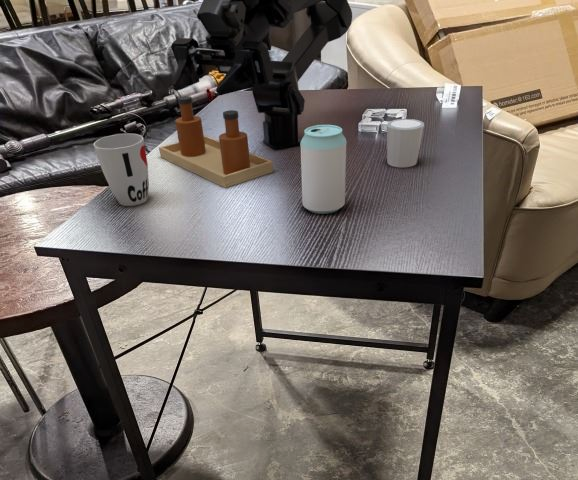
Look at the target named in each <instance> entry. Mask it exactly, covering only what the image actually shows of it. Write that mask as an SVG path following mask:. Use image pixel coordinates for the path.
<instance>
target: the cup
mask: <svg viewBox="0 0 578 480" xmlns="http://www.w3.org/2000/svg"><path fill="white" fill-rule="evenodd" d="M93 148H94V151H95V154H96V157H97V160H98V162H99V165H100V169H101V172H102V173H103V175H104V177H105V180H106V182H107V184H108V186H109V189H110V191H111V192H112V194H113V195H114V197H115V199H116V200H117V202H118V204H119V205H121V206H123V207H133V206H134V207H135V206H138V205H141V204H144V203H145V202H146V203H147V201H148V198H149V186H150V181H149V164H148V158H147V152H146V147H145V141H144V137H143V135H141V134H138V133H118V134H112V135H108V136H104V137H101V138H99V139H97V140H96V141H94V142H93Z"/></svg>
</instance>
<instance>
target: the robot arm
mask: <svg viewBox="0 0 578 480" xmlns="http://www.w3.org/2000/svg"><path fill="white" fill-rule="evenodd" d="M305 9H306V11H305V13H306V16H307V18H308V19H309V26H308V27H307V28H306V30H305V31H304V32H303V33H302V35H301V36H300V37H299V38H298V39H297V41H296V42H295V43H294V45H293V46H292V47H291V48H290V50H289V51H288V52H287V53H286V55H284V57H283V59H282V60H271V56H270V51H272V46H273V44H272V39H271V37H272V35H271V29H284V28H287V26H288V25H290V24H291V23H292V21H294V19H295V18H294V17H295V14H296V13H298V12H301V11H303V10H305ZM196 18H197V19H198V21H199V22H200V23H201V24H202V27H204V29H205V31H206V33H207V35H206V36H205V40H206V44H207V46H210V47H209V48H203V47H202V48H201V47H200V45H199V42H198V40H197V39H194V38H189V37H177V38H176V39H175V40H174V41H173V42H171V45H170V48H171V51H172V54H173V56H174V59H175V61H176V64H177V69H176V73H175V75H174V77H173V81H172V88H173V90H174V92H178V91H180V90H183V89H186V88H188V87H191V86H193V85H195V84H198V83H200V82H201V81H200V80H201V79H203V78H204V77H205V76H206V71H207V66H215V67H216V68H217V72H218V73H219V74H223V75H224V76H223V78H222V79H221V80H220V81H219V83H218V84H217V87H216V88H215V90H216V93H217V95H218V96H223V95H228V94H231V93H236V92H240V91H246V90H249V89H250V90H252V96H253V100H254V103H255V107H256V110H257V113H258V114H264V115H263V116H264V120H263V122H262V128H263V129H262V130H263V139H262V142H263V143H264V144H265V145H267V146H269V147H270V148H273V150H279V149H283V148H289V147H293V146H298V145H300V143H301V140H302V139H299V121H298V120H299V119H298V116H300V115H302V114H303V112H304V109H305V102H306V100H305V98H304V97H303V95H302V93H301V91H300V90H299V81H300V80H301V79H302V77H303V76H304V74H305V73H306V72H307V70H308V69H309V68H310V66H311V65H313V62H314V61H315V60H316V59H317V58H318V56H319V55H320V53H321V52H322V51H323V50H324V49H325V47H326V46H327V44H329V43H330V42H333V41H335V40H338V39H340V38H342V37H343V36H344V35H346V34H347V33H348V31H349V29H350V27H351V25H352V22H353V10H352V8H351V6H350V3H349V1H348V0H202V2H201V4H200V7H199V9H198V11H197V14H196Z"/></svg>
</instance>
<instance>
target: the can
mask: <svg viewBox="0 0 578 480" xmlns="http://www.w3.org/2000/svg"><path fill="white" fill-rule="evenodd" d="M303 132H304V135H303V136H302V138H301V139H300V140H301V143H300V144H299V145H300V168H301V169H300V171H301V201H302V206H303V207H304V208H305V209H306V210H308V211H309V212H311V213H314V214H320V215H324V214H325V215H326V214H332V213H335V212H337V211H338V210H340V209H341V208H343V207H344V206H345V204H346V175H347V138H346V137H345V135H344V133H343V128H342V127H340V126H339V125H334V124H317V125H312V126H309V127H306V128H305V129H304V130H303Z"/></svg>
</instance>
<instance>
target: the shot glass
mask: <svg viewBox="0 0 578 480" xmlns="http://www.w3.org/2000/svg"><path fill="white" fill-rule="evenodd" d="M424 129H425V122H423V120H419V119H413V118H399V119H392V120H389V121H388V122H387V123H386V157H387V159H386V161H387V164H388V166H391V167H395V168H411V167H414V166H416V165H417V163H418V159H419V155H420V149H421V143H422V140H423V139H422V138H423V133H424Z"/></svg>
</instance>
